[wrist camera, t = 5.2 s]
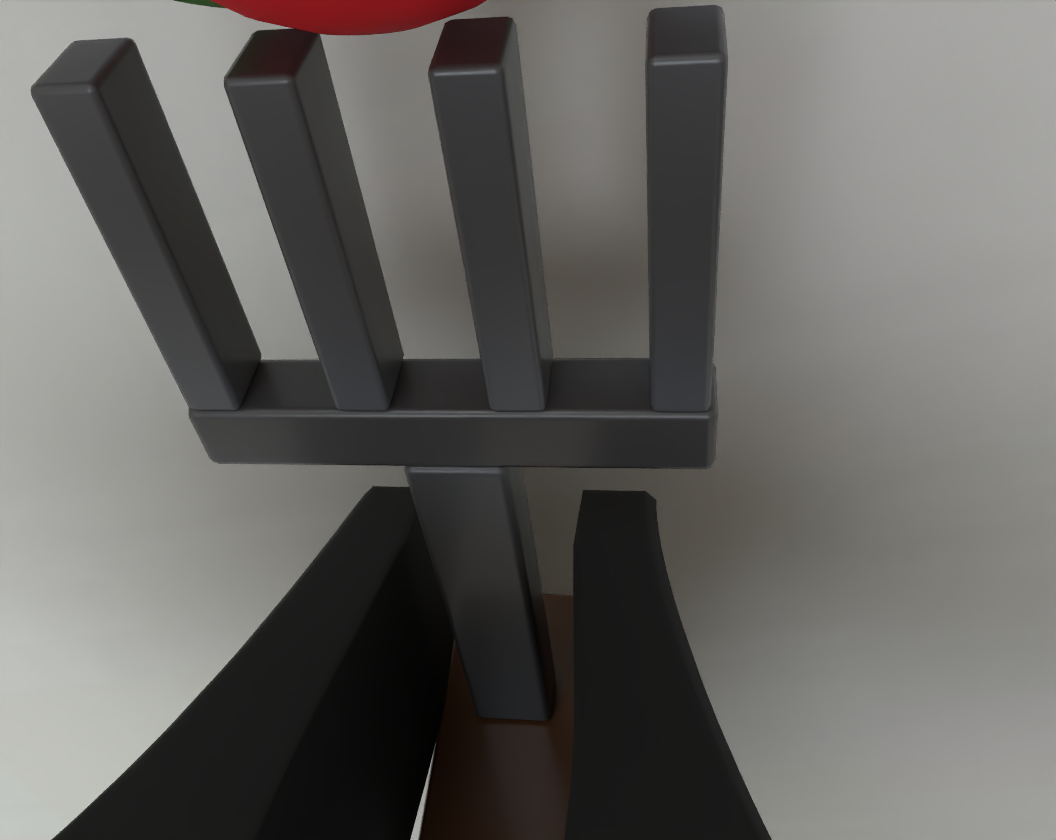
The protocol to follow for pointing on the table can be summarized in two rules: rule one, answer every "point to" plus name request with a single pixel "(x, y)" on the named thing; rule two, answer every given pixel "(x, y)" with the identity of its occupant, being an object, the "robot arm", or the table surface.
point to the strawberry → (345, 13)
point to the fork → (426, 384)
